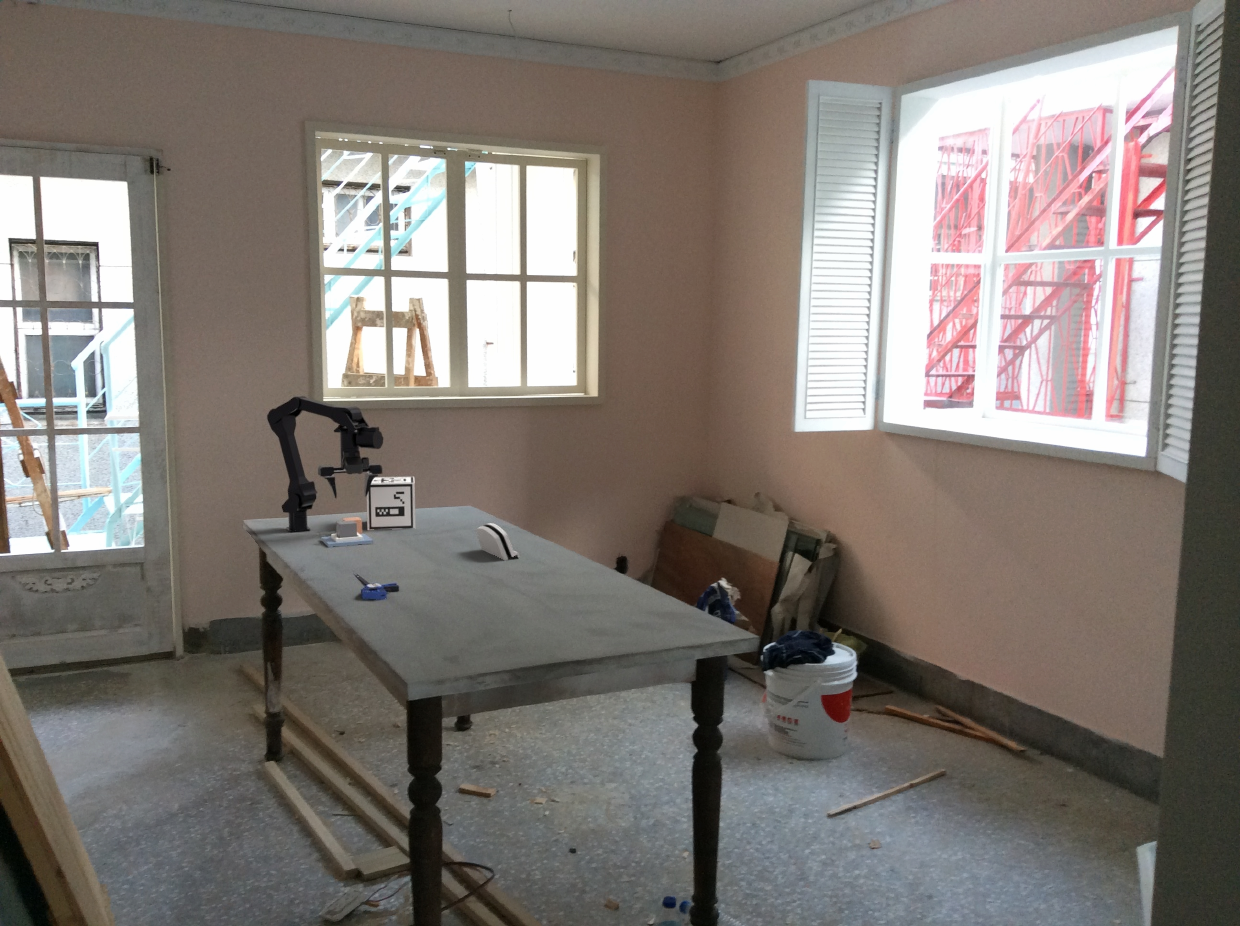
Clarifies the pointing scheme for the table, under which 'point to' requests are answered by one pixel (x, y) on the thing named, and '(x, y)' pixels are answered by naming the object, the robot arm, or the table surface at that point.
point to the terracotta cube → (357, 520)
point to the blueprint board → (346, 540)
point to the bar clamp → (376, 589)
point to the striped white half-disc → (495, 541)
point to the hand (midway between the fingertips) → (350, 497)
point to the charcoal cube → (346, 529)
